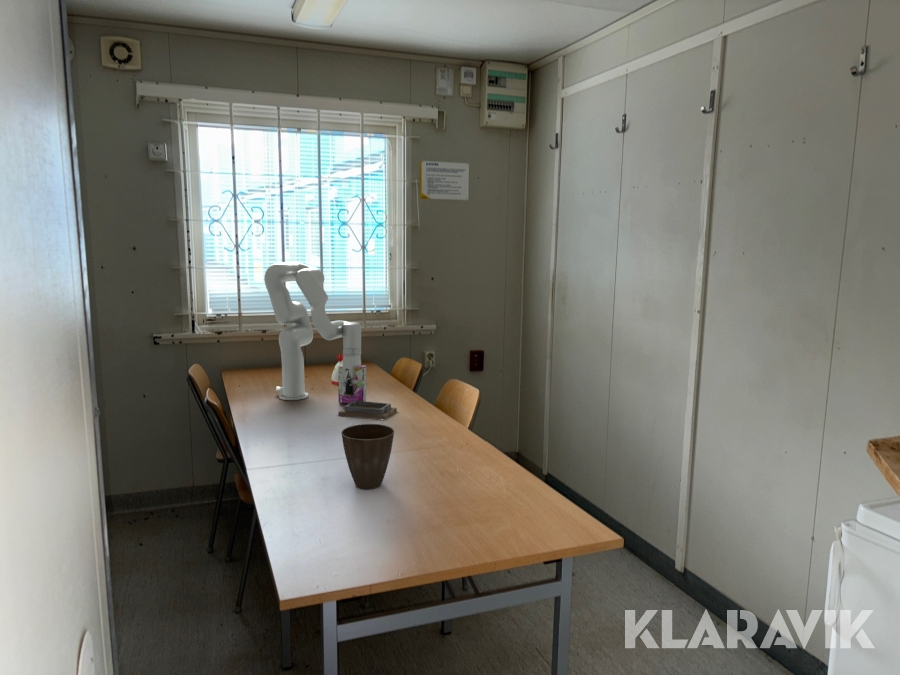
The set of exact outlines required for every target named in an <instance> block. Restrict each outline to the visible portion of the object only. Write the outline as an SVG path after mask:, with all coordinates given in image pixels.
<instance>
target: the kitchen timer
mask: <svg viewBox="0 0 900 675" xmlns="http://www.w3.org/2000/svg"><path fill="white" fill-rule="evenodd" d="M343 356H344V355H343V354H341V353H339V354H338V356H336V359H337V360H338V362H337V363H336V364H335V366H334V367H333V371H332V374H331V377H330V378H331V379H330V380H331V384H332V385H334V384H335V386H339V366H340V365H341V364H342V363H343Z"/></svg>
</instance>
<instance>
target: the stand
mask: <svg viewBox="0 0 900 675" xmlns="http://www.w3.org/2000/svg"><path fill="white" fill-rule="evenodd" d="M343 407H344V408H343V409H341V410H339V411H338V415H340V416H339V417H348V416H350V417H349V418H351V417H352V418H358V417H361V419H369V418H371V420H379V419H383V420H382V421H385V420H387V419H388V418H390V417H391V416H392V415H394V414H395V413H397V410H398V409H397V407H393V406H392V404H391V403H386V402H377V401H367V400H366V401H353V402H352V403H350V404H347V405H345V406H343ZM394 412H395V413H394ZM393 413H394V414H393ZM389 416H390V417H389ZM386 418H387V419H386Z"/></svg>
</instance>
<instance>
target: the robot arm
mask: <svg viewBox="0 0 900 675" xmlns="http://www.w3.org/2000/svg"><path fill="white" fill-rule="evenodd" d="M263 280H264V286H265V288H266V290H267V293H268V296H269V299H270V304H271V306H272V310H273V313H274V316H275V319H276V322H277V323H279V324H280V325H282V326H285V325H286V326H287V325H291V326H290V327H288V326H287V327H286V328H283V329H282V330H281V331H280V333H279V334H278V345H279V349H280V357H281V376H282V377H281V380H282V384H281V385H282V386H276V388H275V392H276V393H277V392H279V393H280V394H279V395H278V396H279V399H280V400H284V401H298V400H299V401H301V400H304V399H307V398H308V397H309V393H308V392H307V391H305V387H306V386H305V362H304V360H305V357H304V354H303V350H302V347H304V346H308V345H309V344H311V343H312V341H313V338H314V331H313V328H312V324H313V325H314V327H315V329H316V330H317V332H318V333H319V335H320V336H321V337H322V339H325V340H326V341H333V340H337V339H341V338H343V340H342V341H343V343H342V346H343V350H342V356H343V355H344V356H343V363H342V378H343V380H344V382H345V392H346V394H348V395H352V394H353V385H352V381H353V378H355V369H356V367H358V366H360V365H362V359H361V358H362V357H361V356H362V325H361V323H359V322H358V321H357V322H356V321H346V320H342V319H341V320H339V319H338V320H333V321H331V320H330V318H329V316H328V315H327V312H326V304H327V301H328V300H329V295H328V294H327V292H326V290H325V289H324V287H323V286H322V285H323V284H324V282H325V275H324V272H323V271H321V269H319V267H318V268H317V267H315V266H310V265H307V264H304V263H301V262H297V261H284V262H283V261H281V262H275V263H273V264H271V265H270V266H269V267H268V268H267V269H266V270H265V273H264V278H263ZM285 282H296V284H297V286H298V287H299V290H300V291H301V293H302V294H303V296H304V297H305V300H306V301H307V303H308V304H309V306H310V315H311V319H310V317H309V316H310V315H309V314H308V310H307V308H306V307H305V305H304V304H303V303H301V302H299V301H292V297H291V294H290V292H289V290H288V288H287V286H286V285H285ZM311 321H312V322H311ZM311 323H312V324H311ZM348 377H350V378H348ZM349 380H350V381H349Z"/></svg>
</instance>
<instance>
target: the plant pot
mask: <svg viewBox="0 0 900 675" xmlns="http://www.w3.org/2000/svg"><path fill="white" fill-rule="evenodd" d="M394 434H395V430H394V429H393V427H391V426H388V425H384V424H377V423H363V424H357V425H356V424H355V425H351V426H348V427H346V428H343V430H341V439H342V444H343V449H344V450H343V451H344V454H345V459H346V463H347V465H348V466H347V467H348V469H349V472H350V476H351V478H352V481H353V482H354V485H355V487H356V488H358V489H361V490H374V489H377V488H379V487H381V485H382V484H383V481H384V479H385V476H386V472H387V469H388V465H389V462H390V458H391V457H390V456H391V454H392V446H393V442H394V436H395V435H394Z"/></svg>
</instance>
